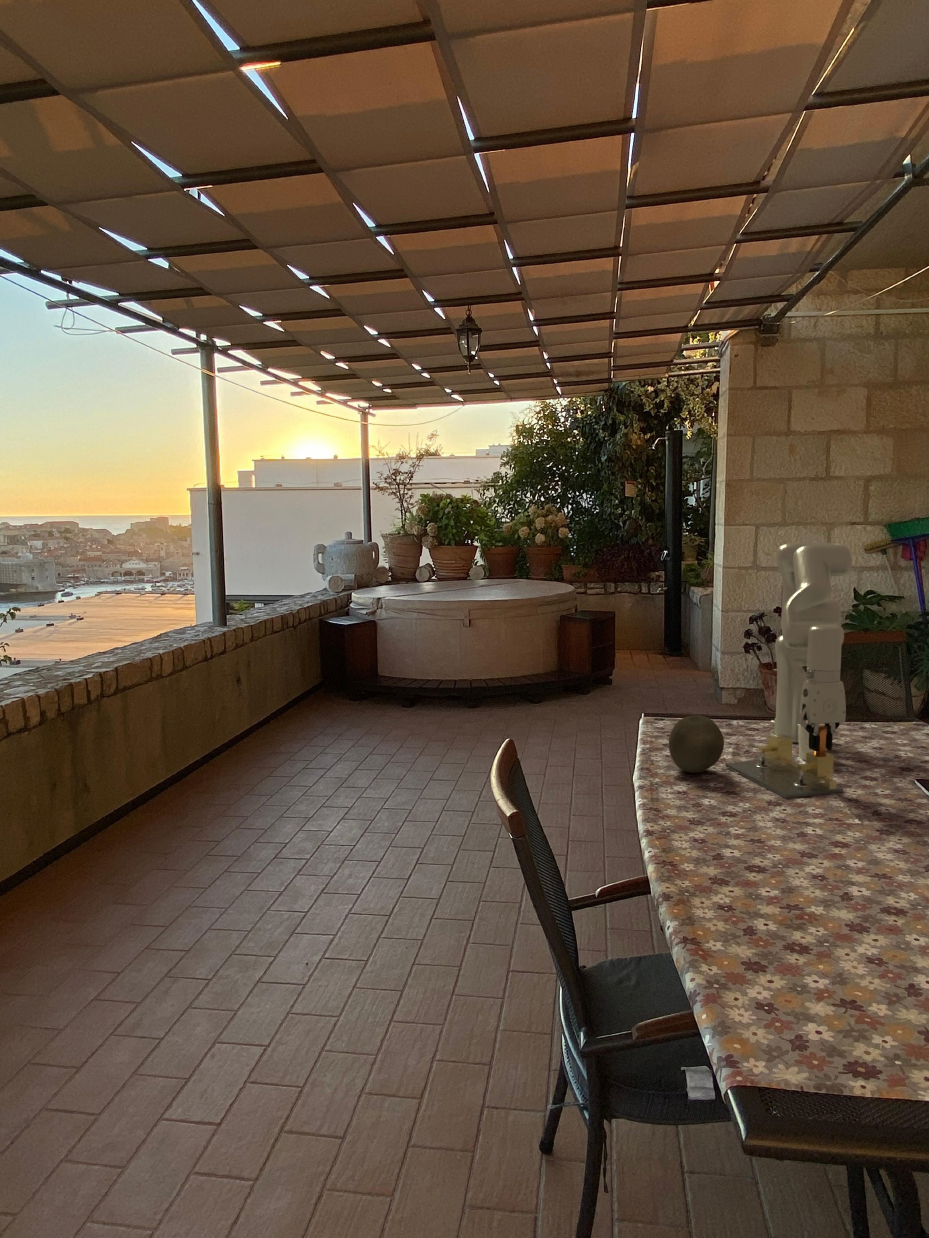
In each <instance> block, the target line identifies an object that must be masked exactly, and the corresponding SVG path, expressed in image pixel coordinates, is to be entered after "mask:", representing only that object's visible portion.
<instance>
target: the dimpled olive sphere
mask: <svg viewBox="0 0 929 1238" xmlns="http://www.w3.org/2000/svg"><path fill="white" fill-rule="evenodd" d="M724 747H725V739H724V736H723V733H722V731H721V730H720V727H719V726H718V725H717V723H716V722H715V721H714V720H713V719H712V718H710V717H707V716H703V715H688V716H685V717H683V718H681V719H679V720H678V721H677V722H676V723H675V724H674V726H673V727H672V729H671V731H670V734H669V737H668V750H669V754H670V756H671V759H672V761H673V762H674V764H675V765H676V767H677V768H678V769H680V770H681V771H683V772H685V771H686V773H689V772H691V774H696V773H702V772H705V771H707V770H708V769H710V768H711V767H713V766H714V765H716V763H718V761H719V760H720V759H721V757H722V754H723V751H724V749H725V748H724Z"/></svg>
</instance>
